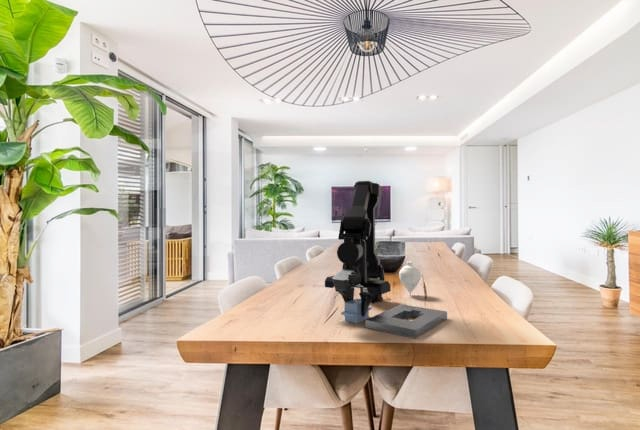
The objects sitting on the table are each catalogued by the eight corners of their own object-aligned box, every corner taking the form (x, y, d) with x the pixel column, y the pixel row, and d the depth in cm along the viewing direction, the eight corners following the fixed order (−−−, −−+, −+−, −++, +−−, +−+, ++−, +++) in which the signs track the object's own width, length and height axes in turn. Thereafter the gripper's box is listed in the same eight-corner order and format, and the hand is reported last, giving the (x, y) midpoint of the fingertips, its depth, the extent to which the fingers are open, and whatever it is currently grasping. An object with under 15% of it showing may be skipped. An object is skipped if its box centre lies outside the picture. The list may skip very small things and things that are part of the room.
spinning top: (425, 295, 131) (425, 261, 131) (411, 298, 126) (411, 263, 126) (408, 291, 137) (408, 259, 137) (394, 294, 132) (394, 261, 132)
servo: (341, 322, 101) (340, 301, 101) (360, 314, 108) (359, 295, 108) (353, 324, 98) (353, 303, 98) (371, 316, 106) (371, 297, 106)
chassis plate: (416, 338, 87) (416, 330, 87) (365, 327, 95) (365, 320, 95) (447, 318, 102) (447, 311, 102) (401, 310, 111) (401, 304, 111)
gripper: (311, 260, 103) (312, 316, 103) (369, 265, 91) (370, 328, 91) (335, 256, 111) (336, 307, 111) (391, 260, 100) (392, 317, 100)
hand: (356, 314), depth 103 cm, fingers closed on servo, 4 cm apart
